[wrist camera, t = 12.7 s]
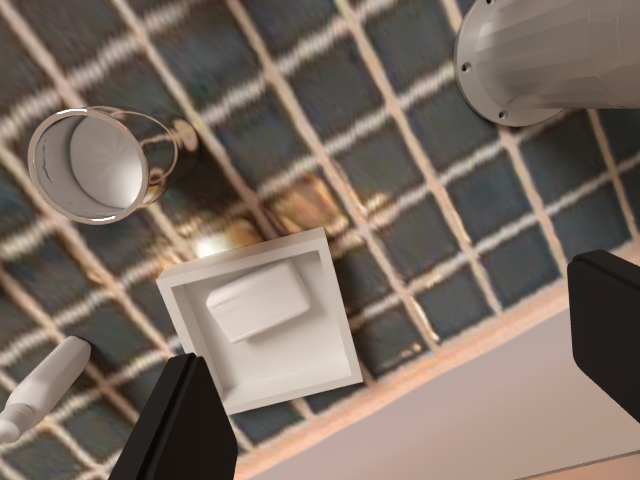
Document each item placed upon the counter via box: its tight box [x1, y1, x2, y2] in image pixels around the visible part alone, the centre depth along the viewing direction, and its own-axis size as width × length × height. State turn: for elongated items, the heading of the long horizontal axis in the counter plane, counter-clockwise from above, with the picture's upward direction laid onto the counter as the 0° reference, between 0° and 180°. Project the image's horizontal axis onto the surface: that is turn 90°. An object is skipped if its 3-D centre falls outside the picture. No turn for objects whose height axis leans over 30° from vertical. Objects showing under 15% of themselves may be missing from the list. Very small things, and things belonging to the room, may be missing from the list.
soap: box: [206, 258, 311, 344], centre depth 41 cm, size 9×6×3 cm, turn 115°
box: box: [156, 227, 363, 415], centre depth 42 cm, size 16×16×4 cm
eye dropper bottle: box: [0, 336, 91, 444], centre depth 38 cm, size 4×6×12 cm
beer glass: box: [28, 105, 200, 225], centre depth 31 cm, size 7×7×15 cm
